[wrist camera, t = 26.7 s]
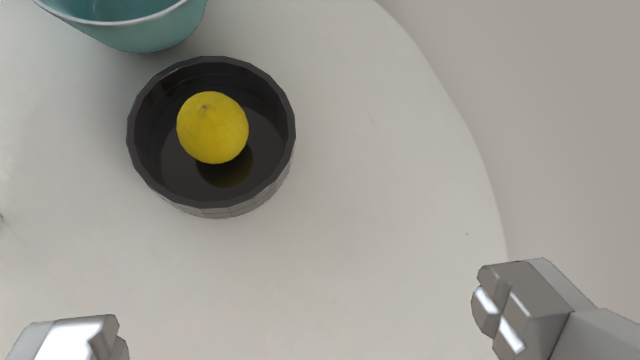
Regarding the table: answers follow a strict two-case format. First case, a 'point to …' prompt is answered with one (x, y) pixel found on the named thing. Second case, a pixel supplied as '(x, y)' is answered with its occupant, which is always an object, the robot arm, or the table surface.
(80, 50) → the table surface
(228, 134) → the fruit
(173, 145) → the pan
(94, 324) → the robot arm
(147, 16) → the bowl
